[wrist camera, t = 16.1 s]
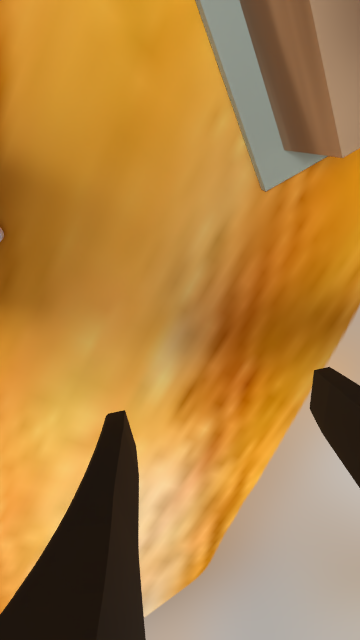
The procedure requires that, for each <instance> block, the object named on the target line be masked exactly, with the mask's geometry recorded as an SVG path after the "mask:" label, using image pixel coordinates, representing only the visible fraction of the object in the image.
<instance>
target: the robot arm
mask: <svg viewBox="0 0 360 640" xmlns="http://www.w3.org/2000/svg"><path fill="white" fill-rule="evenodd" d="M3 237H4V233H3V231H2V229H1V228H0V242H1V241H2V240H3ZM310 410H311V412H312V414H313V416H314V418H315V420H316V422H317V424H318V426H319V428H320V430H321V432H322V433H323V435H324V436H325V438H326V439H327V441H328V442H329V444H330V445H331V447H332V448H333V450H334V451H335V453H336V454H337V456H338V457H339V459H340V460H341V461H342V463H343V464H344V466H345V467H346V469H347V470H348V472H349V473H350V474H351V476H352V477H353V479H354V480H355V482H356V483H357V485H358V486H359V488H360V386H359V385H358V384H356V383H355V382H353V381H351V380H350V379H348V378H347V377H345V376H343V375H342V374H340V373H339V372H337V371H335V370H334V369H332V368H330V367H327V368H322V369H318V370H314V376H313V384H312V393H311V402H310ZM138 513H139V472H138V461H137V451H136V445H135V442H134V439H133V435H132V432H131V429H130V425H129V422H128V419H127V416H126V412H125V410H124V411H119V412H114V413H110V414H108V415H107V416H106V418H105V421H104V425H103V428H102V431H101V434H100V437H99V440H98V443H97V445H96V448H95V451H94V453H93V456H92V458H91V461H90V463H89V465H88V468H87V470H86V473H85V475H84V477H83V479H82V481H81V483H80V485H79V488H78V490H77V492H76V494H75V496H74V498H73V500H72V502H71V504H70V506H69V508H68V510H67V512H66V514H65V515H64V517H63V519H62V521H61V523H60V524H59V526H58V528H57V530H56V531H55V533H54V535H53V536H52V538H51V540H50V541H49V543H48V545H47V546H46V548H45V550H44V551H43V553H42V555H41V556H40V558H39V559H38V561H37V562H36V564H35V566H34V567H33V569H32V570H31V572H30V573H29V574H28V576H27V577H26V579H25V580H24V582H23V583H22V585H21V586H20V587H19V589H18V590H17V592H16V593H15V595H14V596H13V598H12V599H11V601H10V602H9V603H8V605H7V606H6V607H5V609H4V610H3V612H2V613H1V614H0V640H146V639H145V629H144V617H143V605H142V593H141V580H140V567H139V550H138Z"/></svg>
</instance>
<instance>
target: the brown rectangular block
mask: <svg viewBox="0 0 360 640" xmlns="http://www.w3.org/2000/svg"><path fill="white" fill-rule="evenodd" d="M239 1H240V4H241V8H242V11H243V14H244V18H245V21H246V24H247V28H248V31H249V34H250V38H251V41H252V44H253V48H254V51H255V54H256V58H257V61H258V64H259V68H260V71H261V74H262V78H263V81H264V84H265V88H266V91H267V94H268V98H269V101H270V104H271V108H272V111H273V115H274V118H275V121H276V125H277V128H278V131H279V135H280V138H281V141H282V145H283V148H284V150H286V151H294V152H302V153H309V154H317V155H325V156H332V157H340V158H343V157H345V156H347V155H348V154H350V153H352V152H354V151H355V150H357V149H359V148H360V0H239Z"/></svg>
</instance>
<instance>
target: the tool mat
mask: <svg viewBox="0 0 360 640" xmlns="http://www.w3.org/2000/svg"><path fill="white" fill-rule="evenodd" d="M195 1H196V4H197V7H198V10H199V12H200V15H201V18H202V21H203V24H204V27H205V30H206V32H207V35H208V38H209V41H210V44H211V47H212V50H213V52H214V55H215V58H216V61H217V64H218V67H219V69H220V72H221V75H222V78H223V81H224V84H225V87H226V89H227V92H228V95H229V98H230V101H231V104H232V107H233V109H234V112H235V115H236V118H237V121H238V124H239V126H240V129H241V132H242V135H243V138H244V141H245V144H246V146H247V149H248V152H249V155H250V158H251V161H252V164H253V166H254V169H255V172H256V175H257V178H258V181H259V183H260V186H261V189H262V190H264V191H268V190H269V189H271V188H273V187H275V186H276V185H278V184H280V183H282V182H283V181H285V180H287V179H289V178H290V177H292V176H294V175H296V174H297V173H299V172H301V171H303V170H305V169H306V168H308V167H310V166H312V165H313V164H315V163H317V162H319V161H320V160H322V159H324V158H326V157H327V156H325V155H317V154H309V153H302V152H294V151H286V150H284V148H283V145H282V141H281V138H280V135H279V131H278V128H277V125H276V121H275V118H274V115H273V111H272V108H271V104H270V101H269V98H268V94H267V91H266V88H265V84H264V81H263V78H262V74H261V71H260V68H259V64H258V61H257V58H256V54H255V51H254V48H253V44H252V41H251V38H250V34H249V31H248V28H247V24H246V21H245V18H244V14H243V11H242V8H241V4H240V1H239V0H195Z"/></svg>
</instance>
